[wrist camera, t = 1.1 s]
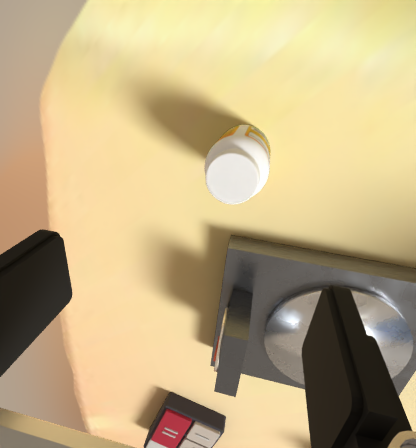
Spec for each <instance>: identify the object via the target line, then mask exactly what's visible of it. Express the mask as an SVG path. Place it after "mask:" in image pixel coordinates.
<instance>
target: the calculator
mask: <svg viewBox="0 0 416 448" xmlns="http://www.w3.org/2000/svg"><path fill="white" fill-rule="evenodd" d="M225 420H226V417H225V416H224V415H222V414H220V413H217V412H215V411H213V410H211V409H208V408H206V407H204V406H202V405H200V404H197V403H195V402H193V401H191V400H188V399H186V398H184V397H182V396H179V395H177V394H175V393H173V392H169V394H168V396H167V398H166V400H165V401H164V403H163V405H162V407H161V409H160V411H159V413H158V415H157V417H156V419H155V420H154V422H153V424H152V425H151V427H150V429H149V432H148V435H147V438H146V441H145V444H144V448H212V447H213V446H214V445H215V443H216V442H217V441H218V439H219V438H220V437H221V435H222V434H223V433H224V427H225Z"/></svg>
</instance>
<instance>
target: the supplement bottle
mask: <svg viewBox="0 0 416 448" xmlns="http://www.w3.org/2000/svg"><path fill="white" fill-rule="evenodd" d="M269 169H270V145H269V142H268V140H267V138H266V136H265V135H264V133H263V132H262V131H260V130H259V129H258V128H256V127H254V126H250V125H238V126H235V127H233V128H231V129H229V130H228V131H227V132H225V133H224V134H223V136H222V137H221V138H220V139H219V140H218V141H217V142H216V143H215V144H214V145H213V146H212V148H211V149H210V151H209V152H208V154H207V157H206V160H205V175H206V184H207V187H208V190H209V191H210V193H211V194H212V195H213V196H214V197H215V198H216V199H217V200H219V201H221V202H223V203H226V204H239V203H243V202H245V201H247V200H248V199H250V198H251V197H252V196H254V195H255V194H257V193H258V192H259V191H260V190H261V189H262V188H263V186H264V185H265V183H266V181H267V178H268V175H269Z"/></svg>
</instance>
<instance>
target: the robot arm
mask: <svg viewBox="0 0 416 448" xmlns="http://www.w3.org/2000/svg"><path fill="white" fill-rule="evenodd" d="M71 298H72V288H71V282H70V276H69V270H68V264H67V258H66V252H65V247H64V241H63V238H62V237H60V235H59V233H57V232H54V231H48V230H39V231H37V232H35V233H34V234H32V235H31V236H29V237H28V238H26V239H25V240H23V241H21V242H20V243H18V244H17V245H15V246H13V247H12V248H11V249H9V250H7V251H6V252H4V253H3V254H1V255H0V377H1V375H3V374H4V373H5V371H6V370H7V369H8V368H9V367H10V366H11V365H12V364H13V363H14V361H16V359H17V358H18V357H19V356H20V355H21V354H22V353H23V352H24V351H25V350H26V348H28V346H29V345H30V344H31V343H32V342H33V341H34V340H35V339H36V338H37V337H38V336H39V334H40V333H41V332H42V331H43V330H44V329H45V328H46V327H47V326H48V325H49V324H50V322H51V321H52V320H53V319H54V318H55V317H56V316H57V315H58V314H59V313H60V312H61V311H62V309H63V308H64V307H65V306H66V305H67V304H68V303H69V302H70V300H71ZM302 363H303V373H304V383H305V392H306V402H307V411H308V421H309V431H310V440H311V448H416V432H413V431H412V429H411V426H410V424H409V421H408V419H407V416H406V414H405V411H404V409H403V406H402V404H401V401H400V399H399V396H398V394H397V391H396V389H395V386H394V384H393V381H392V379H391V376H390V374H389V371H388V368H387V366H386V363H385V361H384V358H383V356H382V353H381V351H380V348H379V346H378V343H377V341H376V340H375V338H374V337H373V336H370V335H367V333H366V330H365V327H364V325H363V322H362V319H361V317H360V314H359V311H358V308H357V306H356V303H355V300H354V298H353V295H352V292H351V290H350V289H349V288H344V287H339V286H334V285H330V286H329V288H328V289H326V288H323V289H322V291H321V294H320V297H319V300H318V303H317V305H316V308H315V311H314V314H313V317H312V320H311V322H310V325H309V328H308V331H307V334H306V337H305V339H304V342H303V345H302ZM0 448H135V447H132V446H128V445H125V444H122V443H118V442H115V441H112V440H108V439H105V438H101V437H98V436H95V435H91V434H88V433H84V432H81V431H78V430H74V429H71V428H67V427H64V426H61V425H57V424H54V423H50V422H47V421H44V420H40V419H37V418H33V417H30V416H27V415H23V414H20V413H16V412H13V411H9V410H6V409H3V408H0Z"/></svg>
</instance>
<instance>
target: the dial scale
mask: <svg viewBox="0 0 416 448" xmlns="http://www.w3.org/2000/svg"><path fill="white" fill-rule="evenodd" d="M330 285H334V286H339V287H344V288H349V289H350V290H351V292H352V295H353V298H354V300H355V303H356V306H357V308H358V311H359V314H360V317H361V319H362V322H363V325H364V327H365V330H366V333H367V335H370V336H373V337H374V338H375V340H376V341H377V343H378V346H379V348H380V351H381V353H382V356H383V358H384V361H385V363H386V366H387V368H388V371H389V374H390V376H391V379H392V381H393V384H394V386H395V389H396V391H397V394H398V396H399V395H400V393H401V392H402V390H403V389H404V387H405V386H406V384H407V383H408V381H409V380H410V378H411V377H412V375H413V374H414V372H415V371H416V269H415V268H410V267H404V266H399V265H393V264H388V263H382V262H377V261H371V260H366V259H360V258H355V257H349V256H344V255H338V254H333V253H327V252H322V251H316V250H311V249H305V248H300V247H294V246H289V245H283V244H278V243H272V242H267V241H261V240H256V239H250V238H245V237H239V236H234V235H231V238H230V242H229V245H228V250H227V256H226V263H225V270H224V277H223V284H222V291H221V298H220V304H219V311H218V318H217V325H216V332H215V339H214V346H213V352H212V359H211V366H213V367H214V371H216V372H217V378H216V384H215V390H214V391H215V392H219V393H222V394H226V395H230V396H234V397H236V393H237V388H238V384H239V379H240V375H241V373H242V374H246V375H250V376H254V377H258V378H262V379H266V380H270V381H274V382H278V383H282V384H286V385H290V386H294V387H298V388H302V389H305V383H304V373H303V363H302V345H303V342H304V339H305V337H306V334H307V331H308V328H309V325H310V322H311V320H312V317H313V314H314V311H315V308H316V305H317V303H318V300H319V297H320V294H321V291H322V289H323V288H326V289H328V288H329V286H330Z"/></svg>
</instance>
